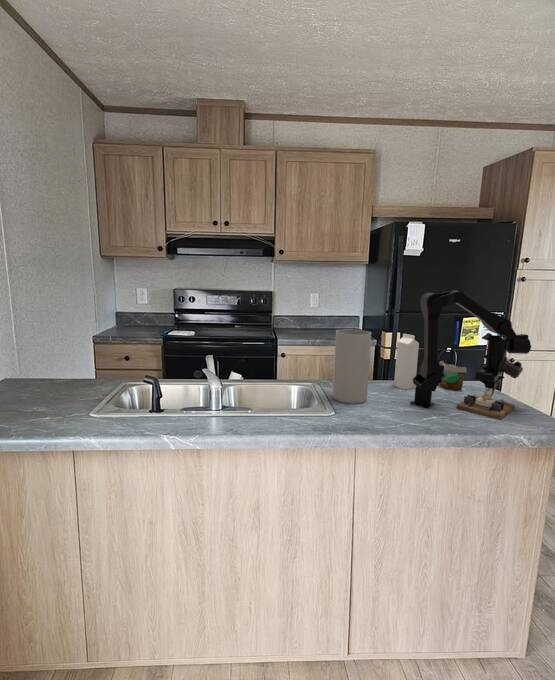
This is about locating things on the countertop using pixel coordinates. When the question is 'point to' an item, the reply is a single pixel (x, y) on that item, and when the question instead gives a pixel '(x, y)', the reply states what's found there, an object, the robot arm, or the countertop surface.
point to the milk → (406, 362)
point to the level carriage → (486, 398)
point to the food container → (452, 377)
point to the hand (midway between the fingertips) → (490, 395)
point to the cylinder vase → (351, 365)
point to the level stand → (495, 411)
